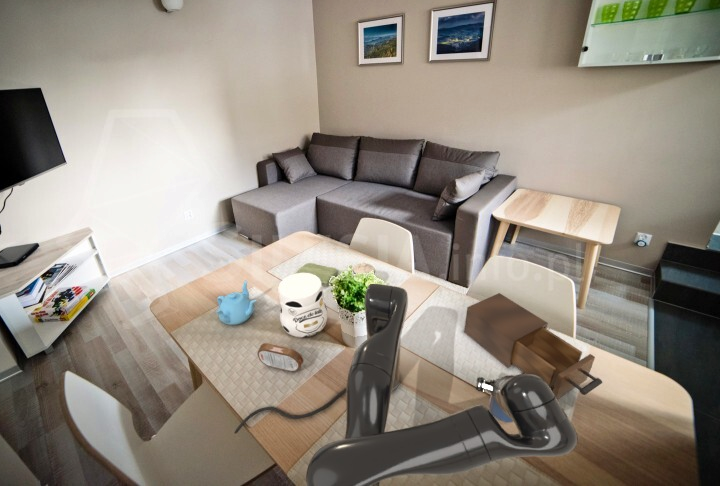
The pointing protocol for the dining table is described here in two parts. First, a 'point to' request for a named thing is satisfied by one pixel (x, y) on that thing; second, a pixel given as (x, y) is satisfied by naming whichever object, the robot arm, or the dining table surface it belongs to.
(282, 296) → the milk container
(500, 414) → the cup
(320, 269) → the washcloth
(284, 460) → the dining table surface
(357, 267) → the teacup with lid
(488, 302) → the wooden storage box
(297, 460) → the dining table surface
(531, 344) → the drawer
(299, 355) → the tin
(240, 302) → the teapot
